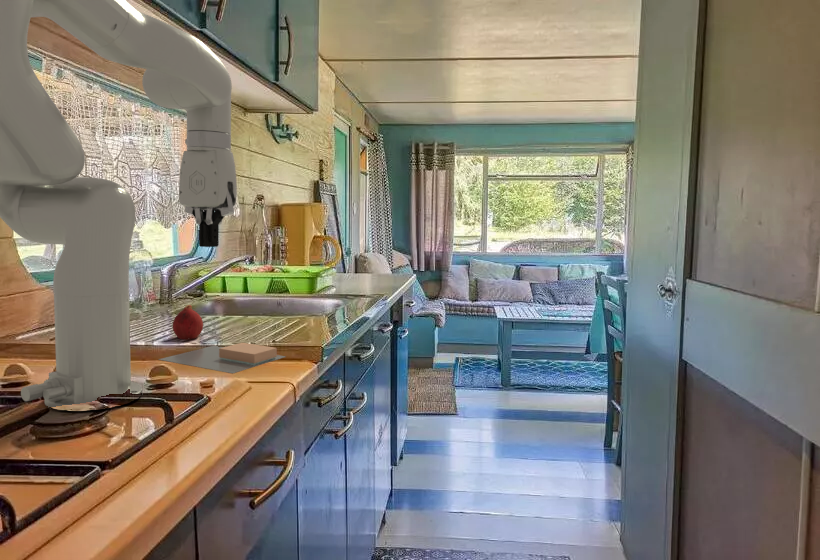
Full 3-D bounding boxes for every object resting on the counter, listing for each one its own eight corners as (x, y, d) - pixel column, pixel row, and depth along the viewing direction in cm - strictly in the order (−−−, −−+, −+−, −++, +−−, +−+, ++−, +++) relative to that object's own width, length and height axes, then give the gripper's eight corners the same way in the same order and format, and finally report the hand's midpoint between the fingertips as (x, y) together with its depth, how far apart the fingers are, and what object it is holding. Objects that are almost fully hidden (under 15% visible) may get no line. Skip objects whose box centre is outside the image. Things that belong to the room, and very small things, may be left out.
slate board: (232, 380, 102) (232, 373, 102) (158, 366, 109) (158, 359, 109) (286, 362, 114) (286, 356, 114) (216, 351, 122) (216, 345, 122)
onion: (193, 347, 124) (192, 307, 123) (167, 345, 125) (166, 306, 125) (208, 341, 130) (208, 303, 129) (183, 339, 131) (182, 302, 130)
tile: (219, 358, 111) (254, 365, 107) (219, 348, 111) (254, 354, 107) (242, 352, 116) (276, 358, 113) (242, 342, 116) (276, 347, 112)
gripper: (162, 142, 111) (162, 245, 113) (225, 140, 105) (225, 249, 107) (194, 147, 118) (194, 244, 120) (255, 145, 111) (254, 248, 113)
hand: (208, 246), depth 113 cm, fingers closed
